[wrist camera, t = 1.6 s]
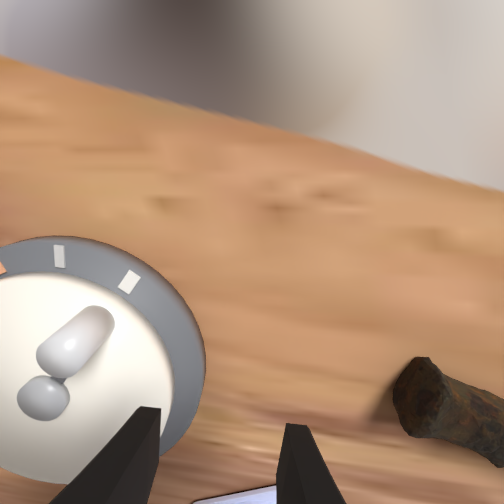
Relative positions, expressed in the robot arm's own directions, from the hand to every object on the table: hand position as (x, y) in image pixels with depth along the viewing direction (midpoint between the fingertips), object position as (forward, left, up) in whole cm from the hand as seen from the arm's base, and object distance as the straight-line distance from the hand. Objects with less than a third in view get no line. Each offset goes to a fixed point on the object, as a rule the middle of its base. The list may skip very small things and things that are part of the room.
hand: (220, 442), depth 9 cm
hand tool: (-13, -16, -10) cm, 23 cm away
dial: (-1, +11, -8) cm, 13 cm away
